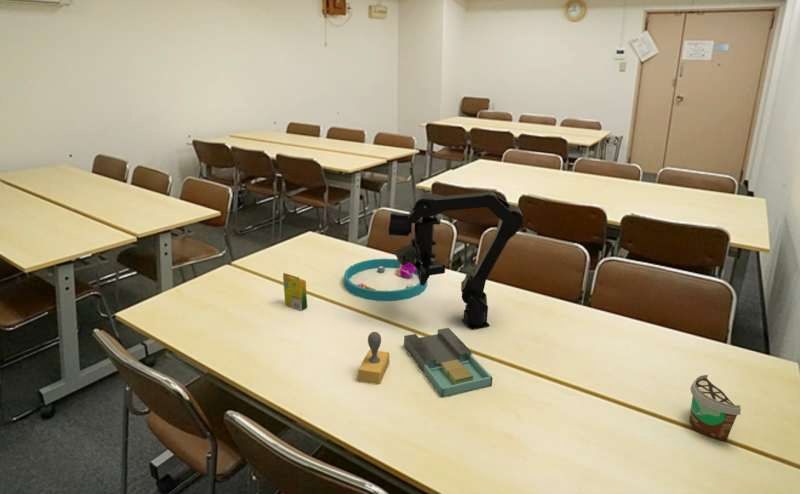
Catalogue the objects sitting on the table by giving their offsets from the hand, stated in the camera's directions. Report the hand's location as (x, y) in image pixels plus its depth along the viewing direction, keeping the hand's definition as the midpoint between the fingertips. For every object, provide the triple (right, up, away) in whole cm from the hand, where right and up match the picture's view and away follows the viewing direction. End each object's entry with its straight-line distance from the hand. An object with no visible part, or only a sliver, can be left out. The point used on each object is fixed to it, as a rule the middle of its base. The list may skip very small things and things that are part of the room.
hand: (422, 284), depth 161 cm
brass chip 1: (+7, -21, -23) cm, 32 cm away
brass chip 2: (+9, -22, -27) cm, 36 cm away
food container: (+62, -30, -41) cm, 80 cm away
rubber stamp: (-14, -22, -23) cm, 34 cm away
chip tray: (+8, -23, -25) cm, 35 cm away
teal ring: (-12, -2, +30) cm, 33 cm away
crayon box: (-41, -8, +11) cm, 43 cm away
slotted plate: (+3, -18, -15) cm, 24 cm away
